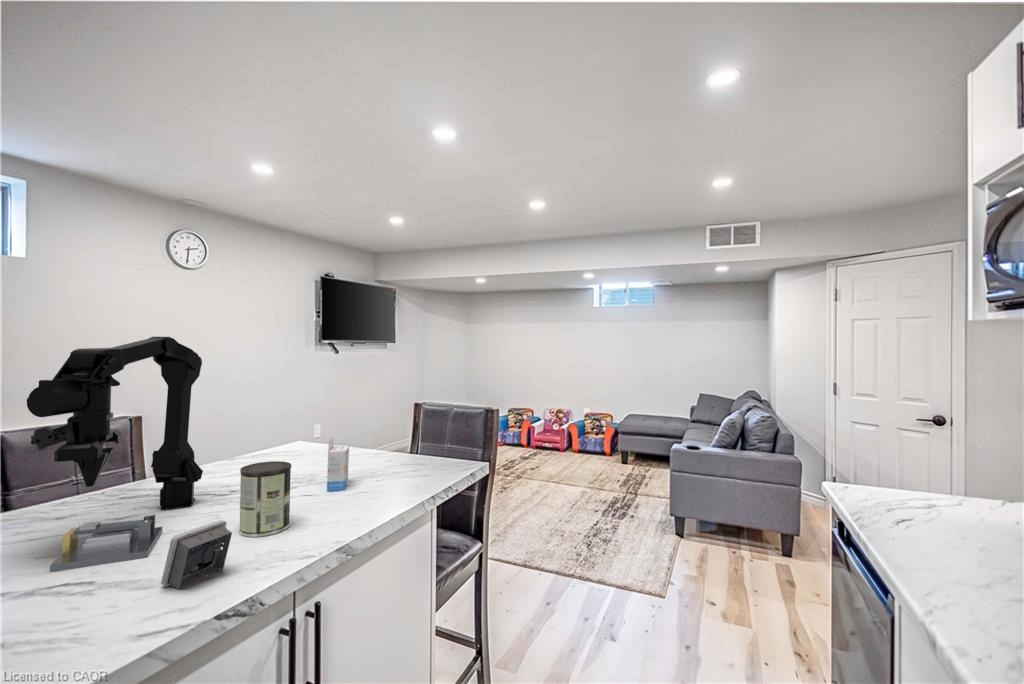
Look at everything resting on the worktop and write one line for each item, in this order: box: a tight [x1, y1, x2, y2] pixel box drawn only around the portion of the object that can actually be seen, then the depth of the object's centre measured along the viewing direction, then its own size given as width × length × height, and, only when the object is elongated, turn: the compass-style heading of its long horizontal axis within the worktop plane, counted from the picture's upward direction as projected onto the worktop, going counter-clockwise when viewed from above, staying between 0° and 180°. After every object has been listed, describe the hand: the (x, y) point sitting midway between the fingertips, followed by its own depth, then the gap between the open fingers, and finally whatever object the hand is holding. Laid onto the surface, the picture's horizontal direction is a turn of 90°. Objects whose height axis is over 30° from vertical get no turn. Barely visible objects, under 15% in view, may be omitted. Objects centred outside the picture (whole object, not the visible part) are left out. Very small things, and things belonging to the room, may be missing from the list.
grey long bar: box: [74, 517, 153, 536], centre depth 93 cm, size 12×3×2 cm, turn 118°
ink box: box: [326, 435, 350, 492], centre depth 138 cm, size 8×5×15 cm, turn 13°
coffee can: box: [238, 460, 292, 538], centre depth 105 cm, size 10×10×14 cm
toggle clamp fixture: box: [49, 514, 163, 573], centre depth 93 cm, size 14×14×5 cm
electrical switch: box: [160, 519, 233, 591], centre depth 82 cm, size 9×5×9 cm, turn 158°
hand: (90, 486), depth 95 cm, fingers closed
